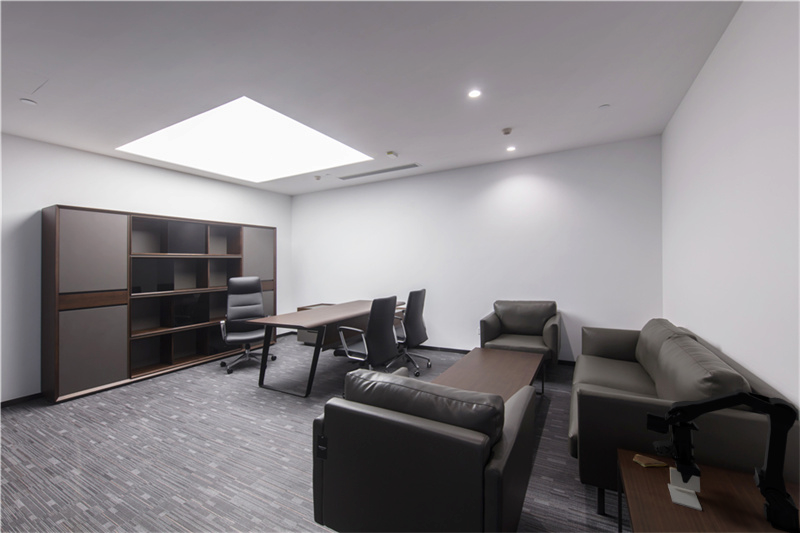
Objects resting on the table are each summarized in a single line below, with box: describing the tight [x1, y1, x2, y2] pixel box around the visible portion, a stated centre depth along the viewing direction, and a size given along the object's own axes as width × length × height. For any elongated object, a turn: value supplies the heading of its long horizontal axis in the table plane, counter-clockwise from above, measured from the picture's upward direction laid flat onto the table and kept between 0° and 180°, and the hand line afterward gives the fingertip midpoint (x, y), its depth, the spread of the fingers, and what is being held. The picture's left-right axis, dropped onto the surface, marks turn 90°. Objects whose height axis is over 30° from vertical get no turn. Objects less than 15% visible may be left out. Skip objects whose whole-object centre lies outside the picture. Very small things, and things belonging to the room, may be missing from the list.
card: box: [669, 466, 701, 493], centre depth 116 cm, size 8×2×6 cm, turn 57°
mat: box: [667, 483, 703, 512], centre depth 114 cm, size 8×11×1 cm
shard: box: [632, 454, 668, 468], centre depth 134 cm, size 11×8×2 cm
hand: (684, 481), depth 116 cm, fingers closed on card, 2 cm apart
